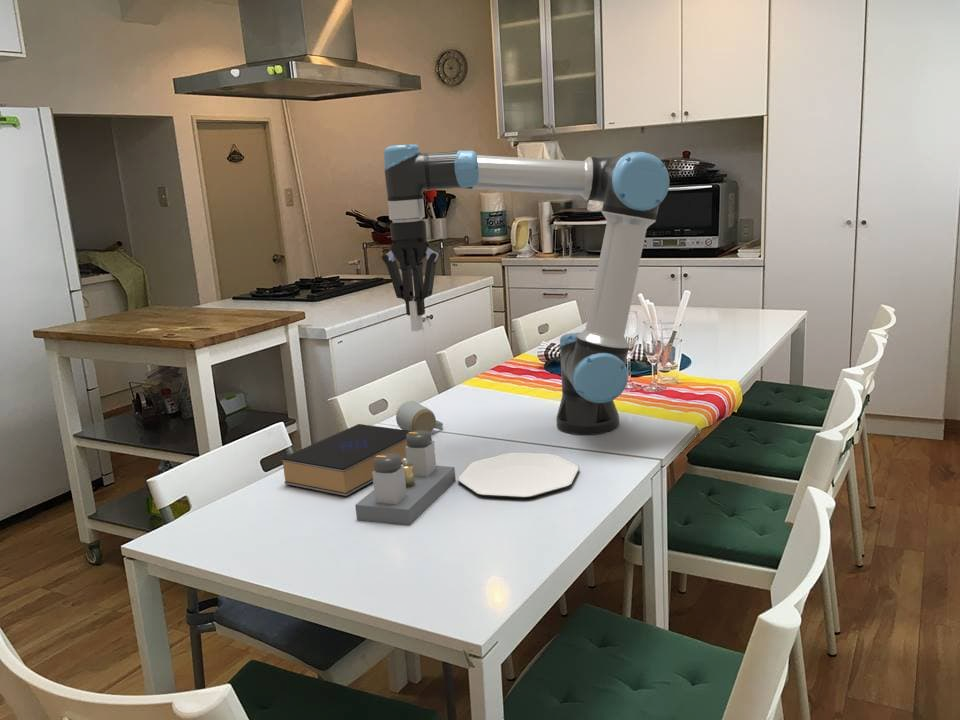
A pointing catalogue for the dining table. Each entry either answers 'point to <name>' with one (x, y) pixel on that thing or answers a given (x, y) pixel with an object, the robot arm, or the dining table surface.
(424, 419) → the ceramic mug
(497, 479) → the plate
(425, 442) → the knob
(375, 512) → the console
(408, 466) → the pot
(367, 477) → the book
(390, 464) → the knob
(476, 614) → the dining table surface
